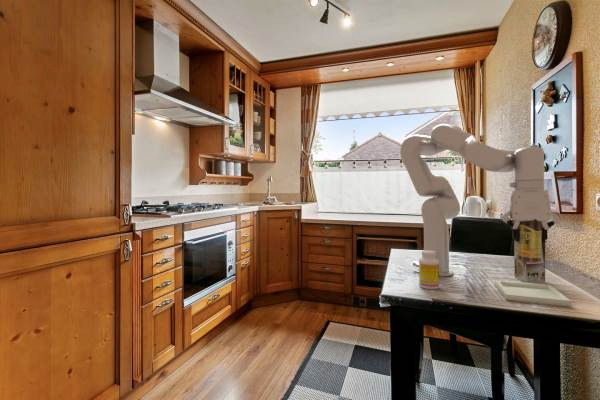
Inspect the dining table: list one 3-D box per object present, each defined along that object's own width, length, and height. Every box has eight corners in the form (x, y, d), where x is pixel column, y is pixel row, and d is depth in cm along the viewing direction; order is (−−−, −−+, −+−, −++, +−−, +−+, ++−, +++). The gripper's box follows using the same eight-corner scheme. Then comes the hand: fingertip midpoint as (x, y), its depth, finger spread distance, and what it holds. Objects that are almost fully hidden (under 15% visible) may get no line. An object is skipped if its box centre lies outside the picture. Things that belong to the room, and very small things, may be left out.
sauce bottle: (512, 259, 101) (512, 200, 100) (531, 258, 101) (531, 199, 100) (526, 263, 94) (526, 200, 94) (547, 263, 94) (547, 200, 94)
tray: (505, 300, 94) (505, 294, 94) (495, 285, 108) (495, 280, 108) (570, 306, 88) (570, 300, 87) (550, 290, 102) (550, 284, 102)
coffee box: (546, 284, 108) (546, 240, 108) (526, 283, 110) (526, 239, 109) (532, 277, 117) (532, 236, 117) (513, 276, 119) (513, 236, 118)
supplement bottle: (441, 290, 104) (441, 253, 104) (421, 289, 105) (421, 253, 105) (436, 284, 111) (436, 249, 110) (417, 283, 112) (417, 249, 111)
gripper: (500, 186, 97) (500, 242, 97) (568, 185, 90) (568, 244, 91) (495, 187, 104) (495, 238, 104) (558, 185, 97) (558, 240, 98)
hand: (529, 240), depth 97 cm, fingers closed on sauce bottle, 6 cm apart
